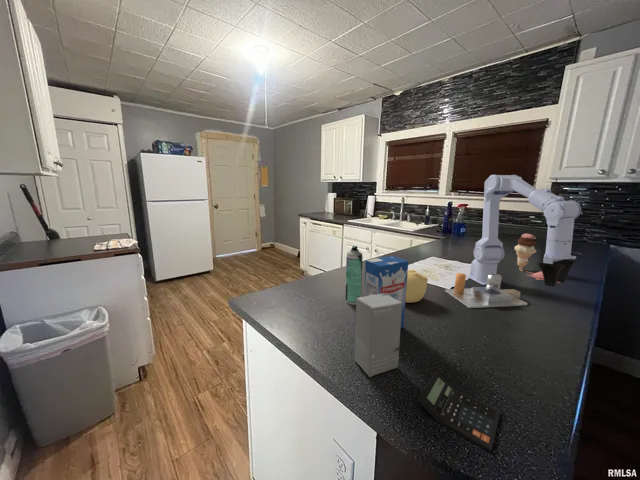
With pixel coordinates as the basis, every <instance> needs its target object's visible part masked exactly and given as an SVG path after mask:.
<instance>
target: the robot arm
mask: <svg viewBox="0 0 640 480" xmlns="http://www.w3.org/2000/svg"><path fill="white" fill-rule="evenodd" d="M513 192H516V193H518V194H519V195H522V196H524V197H526V198H528V202H529V204H530V205H532V206H533V207H535V208H537V209H538V210H540V211H541V212H543V216H544V217H545V220H546V225H547V234H546V242H545V243H546V245H545V253H544V255H543V261H538V262H537V263H538V267H539V268H540V270H541V271H542V273H543V277H544V280H543V281H544V285H545V286H548V287H556V284H557V283H558V282H559V283H562V284H564V283H565V282H566V280H567V277H568V275H569V272H570V270H571V269H572V267H573V266H574V265H575V263H576V260H575V259H577V256H575V255H572V244H573V235H574V227H575V225H574V224H575V219H577V218H578V217H579V216H580V215H581V213H582V208H581V205H580V203H578V202H577V201H576V200H574V199H573V200H571V199H570V200H565V199H564V196H561V195H560V196H559V195H556V194H555V193H553V192H552V189H550V188H540V189H537V188H536V187H534V186H532V185H531V184H529V183H528V182H526V181H525V180H523V178H522V177H521V176H518V175H517V174H511V175H510V174H509V175H508V174H505V175H504V174H503V175H502V174H498V175H497V174H491V175H489V177H488V178H486V180H485V181H484V190H483V206H482V207H483V210H482V211H483V212H482V213H483V214H482V231H481V232H482V235H481V238H480V239H479V240H478V241H476V242H475V246H474V249H473V257H474V259H473V260H472V261H471V262H470V263H471V264H470V271H469V275H468V276H467V278H469V279H470V280H473V281H474V282H476V283H478V284H480V285H482V286H486V283H487V276H488V274H489V273H494V274H497V271H498V263H499V264H500V261H501V260H503V259H504V258H505V250H504V246H503V245H504V243H503V242H502V241H501V240H500V239H499V225H500V223H499V222H500V221H499V220H500V201H501V200H502V199H503V198H504V197H506V196H507V195H509V194H511V193H513Z"/></svg>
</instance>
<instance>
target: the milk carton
mask: <svg viewBox="0 0 640 480" xmlns="http://www.w3.org/2000/svg"><path fill="white" fill-rule="evenodd" d="M364 266H365V267H364V269H365V271H364V290H363V291H364V292H363V293H364V294H363V297H364V296H368V295H378V294H384V293H385V294H387V295H389V296H391V297H392V298H394V299H396V300H398V301H400V302H402V313H401V328H402V329H403V328H404V327H405V326H404V325H405V314H406V313H405V312H406V311H405V310H406V302H405V300H406V287H407V274H408V270H409V260H406V259H403V258H400V257H397V256H394V255H390V256H389V255H388V256H381V257H377V258H370V259H365V265H364Z"/></svg>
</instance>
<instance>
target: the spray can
mask: <svg viewBox="0 0 640 480" xmlns="http://www.w3.org/2000/svg"><path fill="white" fill-rule="evenodd" d="M345 257H346V260H345V262H346V264H345V266H346V267H345V303H346V304H348V305H352V306H353V305H355V306H356V298H358V297H362V286H363V285H362V284H363V283H362V281H363V257H364V256H363V253H362V252H361V251H359V249H358V246H357V245H352V246H351V249H350V250H349V251H347V252H346V256H345Z"/></svg>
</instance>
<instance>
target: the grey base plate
mask: <svg viewBox="0 0 640 480" xmlns="http://www.w3.org/2000/svg"><path fill="white" fill-rule="evenodd" d="M502 277H503V276H502V274H498V273H496V274H494V273H489V274H488V276H487V283H486V285H485V287H491V286H494V287H496V288H498V289H500V290H501V283H502ZM471 291H472V287H471V288H465V287H464V293H463V294H458V293H455V292H454V288H446V289H445V292H446V293H447V294H448V295H450V296H451V297H452V298H454V299H456V300H457V301H459V302H460V303H462V304H463V305H464V306H466V307H467V308H469V309H479V308H480V309H481V308H483V309H485V308H499V307H502V308H503V307H519V306H520V307H521V306H527V305H528V302H526V301H524V300H522V299H520V298H519V299H512V303H501V304H487V303H486V302H484V301H482V300H481V299H479V298H478V297H476V296H474V295H473V294H471Z"/></svg>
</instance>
